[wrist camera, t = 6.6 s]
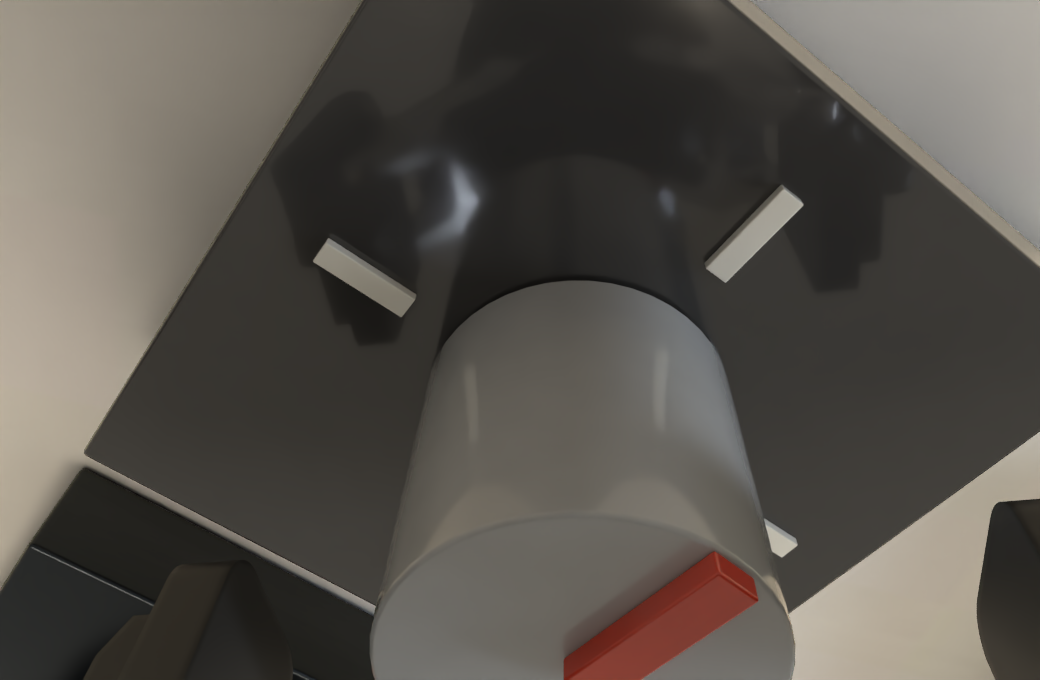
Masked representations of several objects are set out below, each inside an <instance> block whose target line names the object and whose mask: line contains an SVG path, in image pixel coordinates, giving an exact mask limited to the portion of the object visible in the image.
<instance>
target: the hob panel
mask: <svg viewBox="0 0 1040 680" xmlns="http://www.w3.org/2000/svg"><path fill="white" fill-rule="evenodd" d="M567 280H590V281H598V282H606V283H613V284H617V285H621V286H625V287H629V288H633V289H636V290H638V291H641V292H643V293H646V294H649V295H651V296H653V297H655V298H657V299H659V300H661V301H663V302H665V303H667V304H669V305H670V306H672V307H673V308H675V309H676V310H677V311H679V312H680V313H682V314H683V315H685V316H686V317H687V318H688V319H689V320H690V321H691V322H692V323H694V324H695V325H696V326H697V327H698V328H699V329H700V330H701V331H702V333H703V334H704V335H705V336H706V338H707V339H708V340H709V341H710V343H711V344H712V345H713V347H714V349H715V351H716V352H717V354H718V356H719V358H720V359H721V362H722V364H723V367H724V370H725V372H726V375H727V378H728V382H729V386H730V390H731V394H732V398H733V402H734V405H735V409H736V413H737V417H738V421H739V425H740V429H741V432H742V436H743V440H744V444H745V448H746V452H747V455H748V459H749V463H750V467H751V471H752V475H753V479H754V482H755V486H756V490H757V494H758V498H759V502H760V506H761V509H762V513H763V517H764V521H765V525H766V529H767V533H768V536H769V540H770V544H771V548H772V552H773V556H774V560H775V563H776V567H777V571H778V575H779V579H780V583H781V587H782V590H783V594H784V598H785V602H786V606H787V610H788V614H789V613H790V612H792V611H793V610H795V609H796V608H797V607H799V606H800V605H801V604H803V603H804V602H806V601H807V600H808V599H810V598H811V597H812V596H814V595H815V594H817V593H818V592H819V591H821V590H822V589H824V588H825V587H826V586H828V585H829V584H830V583H832V582H833V581H835V580H836V579H837V578H839V577H840V576H841V575H843V574H844V573H846V572H847V571H848V570H850V569H851V568H852V567H854V566H855V565H857V564H858V563H859V562H861V561H862V560H863V559H865V558H866V557H868V556H869V555H870V554H872V553H873V552H874V551H876V550H877V549H879V548H880V547H881V546H883V545H884V544H886V543H887V542H888V541H890V540H891V539H892V538H894V537H895V536H897V535H898V534H899V533H901V532H902V531H903V530H905V529H906V528H908V527H909V526H910V525H912V524H913V523H914V522H916V521H917V520H919V519H920V518H921V517H923V516H924V515H925V514H927V513H928V512H930V511H931V510H932V509H934V508H935V507H936V506H938V505H939V504H941V503H942V502H943V501H945V500H946V499H947V498H949V497H950V496H952V495H953V494H954V493H956V492H957V491H959V490H960V489H961V488H963V487H964V486H965V485H967V484H968V483H970V482H971V481H972V480H974V479H975V478H976V477H978V476H979V475H981V474H982V473H983V472H985V471H986V470H987V469H989V468H990V467H992V466H993V465H994V464H996V463H997V462H998V461H1000V460H1001V459H1003V458H1004V457H1005V456H1007V455H1008V454H1009V453H1011V452H1012V451H1014V450H1015V449H1016V448H1018V447H1019V446H1020V445H1022V444H1023V443H1025V442H1026V441H1027V440H1029V439H1030V438H1032V437H1033V436H1034V435H1036V434H1037V433H1038V432H1040V250H1039V249H1038V248H1036V247H1035V246H1034V245H1033V244H1032V243H1031V242H1029V241H1028V240H1027V239H1026V238H1025V237H1024V236H1022V235H1021V234H1020V233H1019V232H1018V231H1017V230H1016V229H1014V228H1013V227H1012V226H1011V225H1010V224H1009V223H1007V222H1006V221H1005V220H1004V219H1003V218H1002V217H1000V216H999V215H998V214H997V213H996V212H995V211H994V210H992V209H991V208H990V207H989V206H988V205H987V204H985V203H984V202H983V201H982V200H981V199H980V198H978V197H977V196H976V195H975V194H974V193H973V192H971V191H970V190H969V189H968V188H967V187H966V186H965V185H963V184H962V183H961V182H960V181H959V180H958V179H956V178H955V177H954V176H953V175H952V174H951V173H949V172H948V171H947V170H946V169H945V168H944V167H943V166H941V165H940V164H939V163H938V162H937V161H936V160H934V159H933V158H932V157H931V156H930V155H929V154H927V153H926V152H925V151H924V150H923V149H922V148H921V147H919V146H918V145H917V144H916V143H915V142H914V141H912V140H911V139H910V138H909V137H908V136H907V135H905V134H904V133H903V132H902V131H901V130H900V129H899V128H897V127H896V126H895V125H894V124H893V123H892V122H890V121H889V120H888V119H887V118H886V117H885V116H883V115H882V114H881V113H880V112H879V111H878V110H877V109H875V108H874V107H873V106H872V105H871V104H870V103H868V102H867V101H866V100H865V99H864V98H863V97H861V96H860V95H859V94H858V93H857V92H856V91H854V90H853V89H852V88H851V87H850V86H849V85H848V84H846V83H845V82H844V81H843V80H842V79H841V78H839V77H838V76H837V75H836V74H835V73H834V72H832V71H831V70H830V69H829V68H828V67H827V66H826V65H824V64H823V63H822V62H821V61H820V60H819V59H817V58H816V57H815V56H814V55H813V54H812V53H810V52H809V51H808V50H807V49H806V48H805V47H804V46H802V45H801V44H800V43H799V42H798V41H797V40H795V39H794V38H793V37H792V36H791V35H790V34H788V33H787V32H786V31H785V30H784V29H783V28H782V27H780V26H779V25H778V24H777V23H776V22H775V21H773V20H772V19H771V18H770V17H769V16H768V15H766V14H765V13H764V12H763V11H762V10H761V9H760V8H758V7H757V6H756V5H755V4H754V3H753V2H751V1H750V0H362V1H361V2H360V4H359V5H358V7H357V9H356V10H355V12H354V14H353V15H352V17H351V18H350V20H349V22H348V23H347V25H346V26H345V28H344V30H343V31H342V33H341V35H340V36H339V38H338V39H337V41H336V43H335V44H334V46H333V48H332V49H331V51H330V52H329V54H328V56H327V57H326V59H325V61H324V62H323V64H322V65H321V67H320V69H319V70H318V72H317V73H316V75H315V77H314V78H313V80H312V82H311V83H310V85H309V86H308V88H307V90H306V91H305V93H304V95H303V96H302V98H301V99H300V101H299V103H298V104H297V106H296V107H295V109H294V111H293V112H292V114H291V116H290V117H289V119H288V120H287V122H286V124H285V125H284V127H283V129H282V130H281V132H280V133H279V135H278V137H277V138H276V140H275V142H274V143H273V145H272V146H271V148H270V150H269V151H268V153H267V154H266V156H265V158H264V159H263V161H262V163H261V164H260V166H259V167H258V169H257V171H256V172H255V174H254V176H253V177H252V179H251V180H250V182H249V184H248V185H247V187H246V189H245V190H244V192H243V193H242V195H241V197H240V198H239V200H238V201H237V203H236V205H235V206H234V208H233V210H232V211H231V213H230V214H229V216H228V218H227V219H226V221H225V223H224V224H223V226H222V227H221V229H220V231H219V232H218V234H217V235H216V237H215V239H214V240H213V242H212V244H211V245H210V247H209V248H208V250H207V252H206V253H205V255H204V257H203V258H202V260H201V261H200V263H199V265H198V266H197V268H196V270H195V271H194V273H193V274H192V276H191V278H190V279H189V281H188V282H187V284H186V286H185V287H184V289H183V291H182V292H181V294H180V295H179V297H178V299H177V300H176V302H175V304H174V305H173V307H172V308H171V310H170V312H169V313H168V315H167V316H166V318H165V320H164V321H163V323H162V325H161V326H160V328H159V329H158V331H157V333H156V334H155V336H154V338H153V339H152V341H151V342H150V344H149V346H148V347H147V349H146V351H145V352H144V354H143V355H142V357H141V359H140V360H139V362H138V363H137V365H136V367H135V368H134V370H133V372H132V373H131V375H130V376H129V378H128V380H127V381H126V383H125V385H124V386H123V388H122V389H121V391H120V393H119V394H118V396H117V398H116V399H115V401H114V402H113V404H112V406H111V407H110V409H109V410H108V412H107V414H106V415H105V417H104V419H103V420H102V422H101V423H100V425H99V427H98V428H97V430H96V432H95V433H94V435H93V436H92V438H91V440H90V441H89V443H88V444H87V446H86V448H85V450H84V454H85V455H86V456H88V457H90V458H92V459H94V460H95V461H97V462H99V463H101V464H103V465H105V466H107V467H109V468H111V469H113V470H115V471H117V472H119V473H121V474H122V475H124V476H126V477H128V478H130V479H132V480H134V481H136V482H138V483H140V484H142V485H144V486H146V487H148V488H149V489H151V490H153V491H155V492H157V493H159V494H161V495H163V496H165V497H167V498H169V499H171V500H173V501H175V502H177V503H178V504H180V505H182V506H184V507H186V508H188V509H190V510H192V511H194V512H196V513H198V514H200V515H202V516H204V517H205V518H207V519H209V520H211V521H213V522H215V523H217V524H219V525H221V526H223V527H225V528H227V529H229V530H231V531H232V532H234V533H236V534H238V535H240V536H242V537H244V538H246V539H248V540H250V541H252V542H254V543H256V544H258V545H259V546H261V547H263V548H265V549H267V550H269V551H271V552H273V553H275V554H277V555H279V556H281V557H283V558H285V559H287V560H288V561H290V562H292V563H294V564H296V565H298V566H300V567H302V568H304V569H306V570H308V571H310V572H312V573H314V574H315V575H317V576H319V577H321V578H323V579H325V580H327V581H329V582H331V583H333V584H335V585H337V586H339V587H341V588H342V589H344V590H346V591H348V592H350V593H352V594H354V595H356V596H358V597H360V598H362V599H364V600H366V601H368V602H370V603H371V604H373V605H375V606H376V604H377V600H378V596H379V591H380V587H381V583H382V578H383V574H384V570H385V565H386V561H387V557H388V552H389V548H390V544H391V539H392V535H393V531H394V526H395V522H396V518H397V513H398V509H399V505H400V501H401V496H402V492H403V488H404V483H405V479H406V475H407V470H408V466H409V462H410V457H411V453H412V449H413V444H414V440H415V436H416V431H417V427H418V423H419V419H420V414H421V410H422V406H423V401H424V397H425V393H426V388H427V384H428V380H429V376H430V372H431V369H432V367H433V365H434V362H435V360H436V357H437V355H438V354H439V352H440V351H441V349H442V347H443V346H444V344H445V342H446V341H447V340H448V339H449V337H450V336H451V335H452V334H453V333H454V331H455V330H456V329H457V328H458V327H459V326H460V325H461V324H462V323H463V322H465V321H466V320H467V319H468V318H469V317H470V316H471V315H473V314H474V313H476V312H477V311H479V310H480V309H481V308H483V307H484V306H486V305H487V304H489V303H491V302H493V301H495V300H497V299H499V298H501V297H503V296H505V295H507V294H509V293H512V292H515V291H518V290H521V289H523V288H526V287H530V286H535V285H539V284H543V283H549V282H558V281H567Z"/></svg>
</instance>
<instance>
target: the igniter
mask: <svg viewBox="0 0 1040 680" xmlns="http://www.w3.org/2000/svg"><path fill="white" fill-rule="evenodd" d="M232 560H247V561H248V562H250V563H251V564H252V566H253V567H254V569H255V571H256V573H257V575H258V577H259V579H260V582H261V584H262V586H263V588H264V591H265V593H266V595H267V597H268V600H269V602H270V604H271V606H272V608H273V611H274V613H275V615H276V617H277V620H278V622H279V624H280V626H281V629H282V631H283V633H284V635H285V637H286V640H287V642H288V645H289V648H290V651H291V657H292V665H293V680H375V679H374V676H373V673H372V668H371V662H370V656H369V637H370V630H371V626H372V621H373V616H371V615H369V614H368V613H366V612H364V611H362V610H360V609H358V608H356V607H354V606H352V605H350V604H348V603H346V602H344V601H342V600H340V599H338V598H336V597H334V596H332V595H331V594H329V593H327V592H325V591H323V590H321V589H319V588H317V587H315V586H313V585H311V584H309V583H307V582H305V581H303V580H301V579H299V578H297V577H295V576H294V575H292V574H290V573H288V572H286V571H284V570H282V569H280V568H278V567H276V566H274V565H272V564H270V563H268V562H266V561H264V560H262V559H260V558H259V557H257V556H255V555H253V554H251V553H249V552H247V551H245V550H243V549H241V548H239V547H237V546H235V545H233V544H231V543H229V542H227V541H225V540H223V539H222V538H220V537H218V536H216V535H214V534H212V533H210V532H208V531H206V530H204V529H202V528H200V527H198V526H196V525H194V524H192V523H190V522H188V521H186V520H185V519H183V518H181V517H179V516H177V515H175V514H173V513H171V512H169V511H167V510H165V509H163V508H161V507H159V506H157V505H155V504H153V503H151V502H149V501H148V500H146V499H144V498H142V497H140V496H138V495H136V494H134V493H132V492H130V491H128V490H126V489H124V488H122V487H120V486H118V485H116V484H114V483H112V482H111V481H109V480H107V479H105V478H103V477H101V476H99V475H97V474H95V473H93V472H91V471H89V470H87V469H82V470H81V471H79V473H78V474H77V476H76V477H75V479H74V480H73V481H72V483H71V484H70V486H69V487H68V489H67V490H66V491H65V493H64V494H63V496H62V497H61V499H60V500H59V501H58V503H57V504H56V506H55V507H54V509H53V510H52V512H51V513H50V514H49V516H48V517H47V519H46V520H45V522H44V523H43V524H42V526H41V527H40V529H39V530H38V532H37V533H36V534H35V536H34V537H33V539H32V540H31V542H30V543H29V545H28V546H27V548H26V549H25V551H24V553H23V554H22V556H21V557H20V559H19V561H18V562H17V564H16V565H15V567H14V569H13V570H12V572H11V574H10V575H9V577H8V578H7V580H6V582H5V583H4V585H3V586H2V588H1V590H0V680H83V679H84V677H85V675H86V673H87V671H88V669H89V667H90V665H91V663H92V661H93V660H94V658H95V656H96V655H97V654H98V652H99V651H100V650H101V649H102V648H103V647H104V646H105V645H106V644H107V643H108V642H109V641H110V640H111V639H112V638H113V637H114V635H115V634H116V633H117V632H118V631H119V630H120V629H121V628H122V627H123V626H124V625H125V624H126V623H127V622H128V621H129V620H130V619H131V617H132V616H134V615H148V614H150V612H151V610H152V608H153V606H154V604H155V602H156V600H157V598H158V596H159V594H160V592H161V590H162V588H163V586H164V584H165V582H166V580H167V578H168V576H169V575H170V573H171V572H172V571H173V569H175V568H176V567H177V566H179V565H181V564H194V563H206V562H219V561H232Z"/></svg>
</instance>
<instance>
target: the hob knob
mask: <svg viewBox="0 0 1040 680" xmlns="http://www.w3.org/2000/svg"><path fill="white" fill-rule="evenodd" d="M369 656H370V662H371V668H372V673H373V676H374V679H375V680H792V675H793V670H794V666H795V641H794V635H793V630H792V625H791V621H790V617H789V614H788V610H787V606H786V602H785V598H784V594H783V590H782V587H781V583H780V579H779V575H778V571H777V567H776V563H775V560H774V556H773V552H772V548H771V544H770V540H769V536H768V533H767V529H766V525H765V521H764V517H763V513H762V509H761V506H760V502H759V498H758V494H757V490H756V486H755V482H754V479H753V475H752V471H751V467H750V463H749V459H748V455H747V452H746V448H745V444H744V440H743V436H742V432H741V429H740V425H739V421H738V417H737V413H736V409H735V405H734V402H733V398H732V394H731V390H730V386H729V382H728V378H727V375H726V372H725V370H724V367H723V364H722V362H721V359H720V358H719V356H718V354H717V352H716V351H715V349H714V347H713V345H712V344H711V343H710V341H709V340H708V339H707V338H706V336H705V335H704V334H703V333H702V331H701V330H700V329H699V328H698V327H697V326H696V325H695V324H694V323H692V322H691V321H690V320H689V319H688V318H687V317H686V316H685V315H683V314H682V313H680V312H679V311H677V310H676V309H675V308H673V307H672V306H670V305H669V304H667V303H665V302H663V301H661V300H659V299H657V298H655V297H653V296H651V295H649V294H646V293H643V292H641V291H638V290H636V289H633V288H629V287H625V286H621V285H617V284H613V283H606V282H598V281H590V280H567V281H558V282H549V283H543V284H539V285H535V286H530V287H526V288H523V289H521V290H518V291H515V292H512V293H509V294H507V295H505V296H503V297H501V298H499V299H497V300H495V301H493V302H491V303H489V304H487V305H486V306H484V307H483V308H481V309H480V310H479V311H477V312H476V313H474V314H473V315H471V316H470V317H469V318H468V319H467V320H466V321H465V322H463V323H462V324H461V325H460V326H459V327H458V328H457V329H456V330H455V331H454V333H453V334H452V335H451V336H450V337H449V339H448V340H447V341H446V342H445V344H444V346H443V347H442V349H441V351H440V352H439V354H438V355H437V357H436V360H435V362H434V365H433V367H432V369H431V372H430V376H429V380H428V384H427V388H426V393H425V397H424V401H423V406H422V410H421V414H420V419H419V423H418V427H417V431H416V436H415V440H414V444H413V449H412V453H411V457H410V462H409V466H408V470H407V475H406V479H405V483H404V488H403V492H402V496H401V501H400V505H399V509H398V513H397V518H396V522H395V526H394V531H393V535H392V539H391V544H390V548H389V552H388V557H387V561H386V565H385V570H384V574H383V578H382V583H381V587H380V591H379V596H378V600H377V604H376V608H375V613H374V617H373V621H372V626H371V630H370V637H369Z"/></svg>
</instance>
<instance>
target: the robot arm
mask: <svg viewBox="0 0 1040 680" xmlns="http://www.w3.org/2000/svg"><path fill="white" fill-rule="evenodd" d="M977 622H978V629H979V634H980V639H981V643H982V647H983V650H984V653H985V656H986V659H987V661H988V664H989V666H990V668H991V671H992V673H993V675H994V677H995V679H996V680H1040V499H1033V500H1020V501H1007V502H999V503H997V504H996V505H995V506H994V508H993V510H992V513H991V518H990V524H989V530H988V536H987V542H986V548H985V555H984V561H983V567H982V573H981V579H980V585H979V591H978V597H977ZM83 680H293V665H292V657H291V651H290V648H289V645H288V642H287V640H286V637H285V635H284V633H283V631H282V629H281V626H280V624H279V622H278V620H277V617H276V615H275V613H274V611H273V608H272V606H271V604H270V602H269V600H268V597H267V595H266V593H265V591H264V588H263V586H262V584H261V582H260V579H259V577H258V575H257V573H256V571H255V569H254V567H253V566H252V564H251V563H250V562H248V561H247V560H232V561H219V562H206V563H194V564H181V565H179V566H177V567H176V568H175V569H173V571H172V572H171V573H170V575H169V576H168V578H167V580H166V582H165V584H164V586H163V588H162V590H161V592H160V594H159V596H158V598H157V600H156V602H155V604H154V606H153V608H152V610H151V612H150V614H148V615H134V616H132V617H131V619H130V620H129V621H128V622H127V623H126V624H125V625H124V626H123V627H122V628H121V629H120V630H119V631H118V632H117V633H116V634H115V635H114V637H113V638H112V639H111V640H110V641H109V642H108V643H107V644H106V645H105V646H104V647H103V648H102V649H101V650H100V651H99V652H98V654H97V655H96V656H95V658H94V660H93V661H92V663H91V665H90V667H89V669H88V671H87V673H86V675H85V677H84V679H83Z"/></svg>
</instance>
